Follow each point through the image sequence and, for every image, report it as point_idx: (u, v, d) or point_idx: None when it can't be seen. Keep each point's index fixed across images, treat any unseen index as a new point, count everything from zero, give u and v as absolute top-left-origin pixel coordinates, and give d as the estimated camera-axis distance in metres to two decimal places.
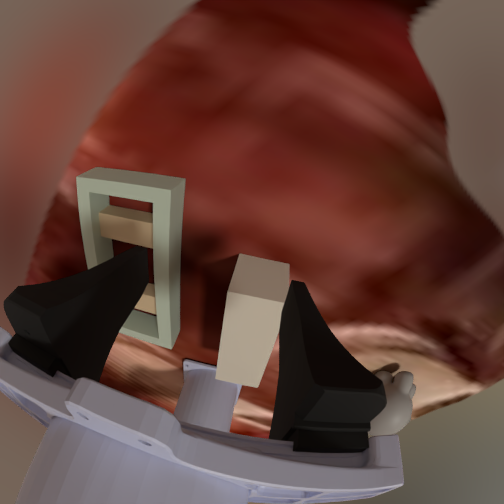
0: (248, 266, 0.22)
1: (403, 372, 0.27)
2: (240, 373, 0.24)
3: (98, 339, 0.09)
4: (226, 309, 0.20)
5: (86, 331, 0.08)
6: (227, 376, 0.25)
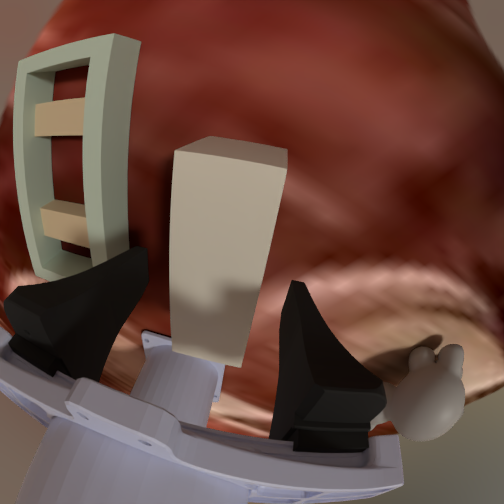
0: (220, 141, 0.13)
1: (451, 345, 0.18)
2: (209, 340, 0.15)
3: (98, 339, 0.09)
4: (173, 192, 0.11)
5: (86, 331, 0.08)
6: (190, 345, 0.15)
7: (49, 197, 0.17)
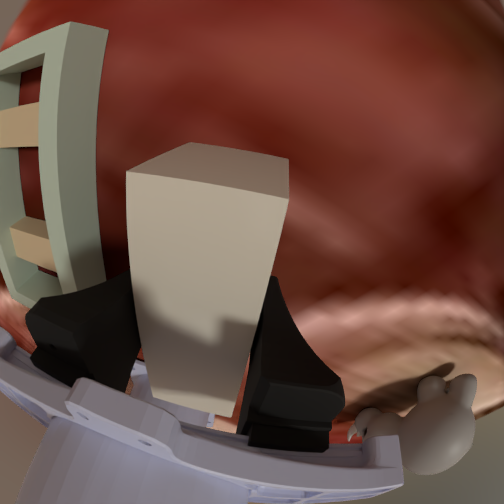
0: (198, 151, 0.10)
1: (464, 375, 0.15)
2: (193, 392, 0.12)
3: (126, 349, 0.09)
4: (130, 230, 0.08)
5: (115, 343, 0.08)
6: (171, 394, 0.12)
7: (19, 214, 0.14)
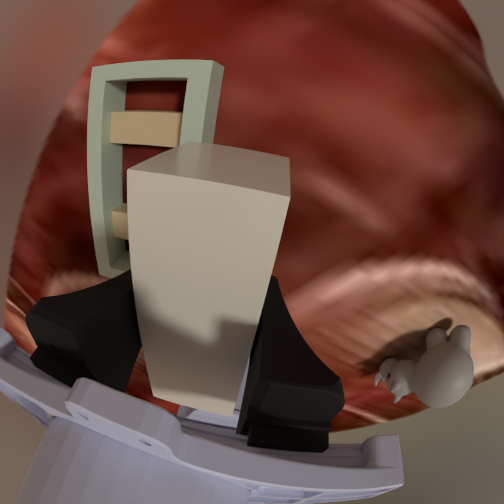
0: (199, 150, 0.10)
1: (460, 326, 0.21)
2: (194, 391, 0.12)
3: (126, 350, 0.09)
4: (131, 228, 0.08)
5: (116, 343, 0.08)
6: (172, 394, 0.12)
7: (119, 201, 0.21)
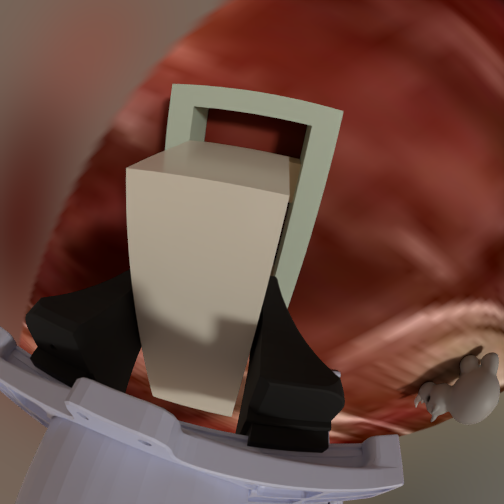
0: (198, 149, 0.10)
1: (491, 353, 0.21)
2: (193, 391, 0.12)
3: (126, 350, 0.09)
4: (130, 227, 0.08)
5: (116, 343, 0.08)
6: (171, 394, 0.12)
7: None
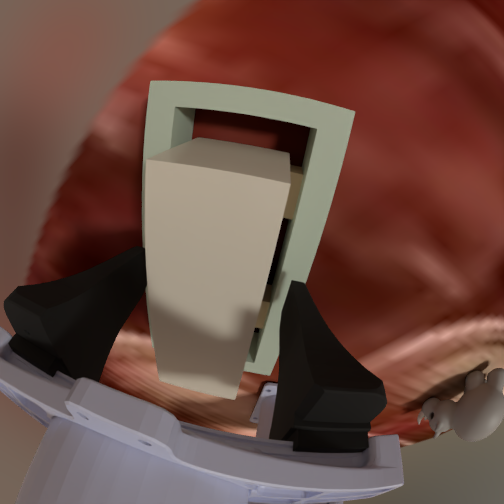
0: (207, 145, 0.11)
1: (497, 369, 0.19)
2: (199, 373, 0.13)
3: (98, 339, 0.09)
4: (147, 212, 0.08)
5: (86, 331, 0.08)
6: (178, 377, 0.13)
7: None
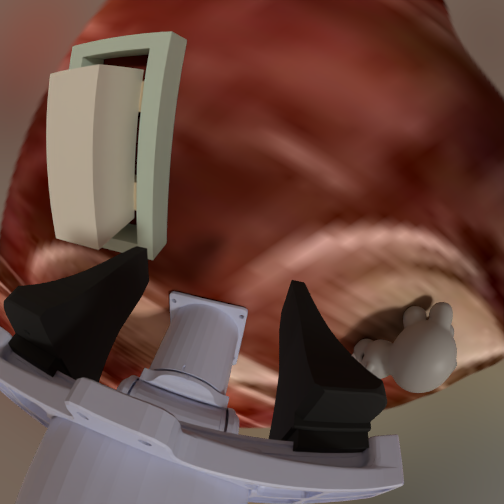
0: None
1: (440, 303, 0.22)
2: (73, 218, 0.16)
3: (98, 339, 0.09)
4: (48, 99, 0.11)
5: (86, 331, 0.08)
6: (64, 228, 0.16)
7: None
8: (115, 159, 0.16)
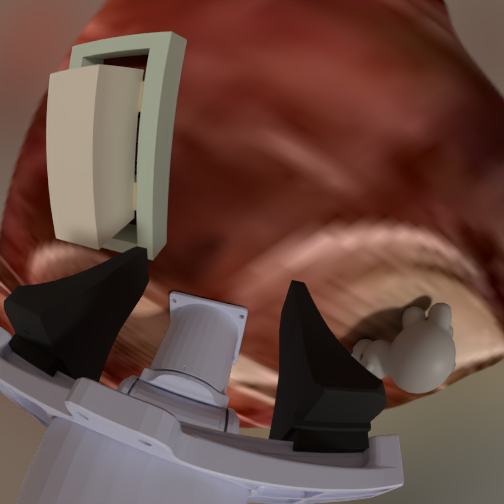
0: None
1: (439, 303, 0.22)
2: (73, 218, 0.16)
3: (98, 339, 0.09)
4: (48, 99, 0.11)
5: (86, 331, 0.08)
6: (64, 228, 0.16)
7: None
8: (115, 159, 0.16)
